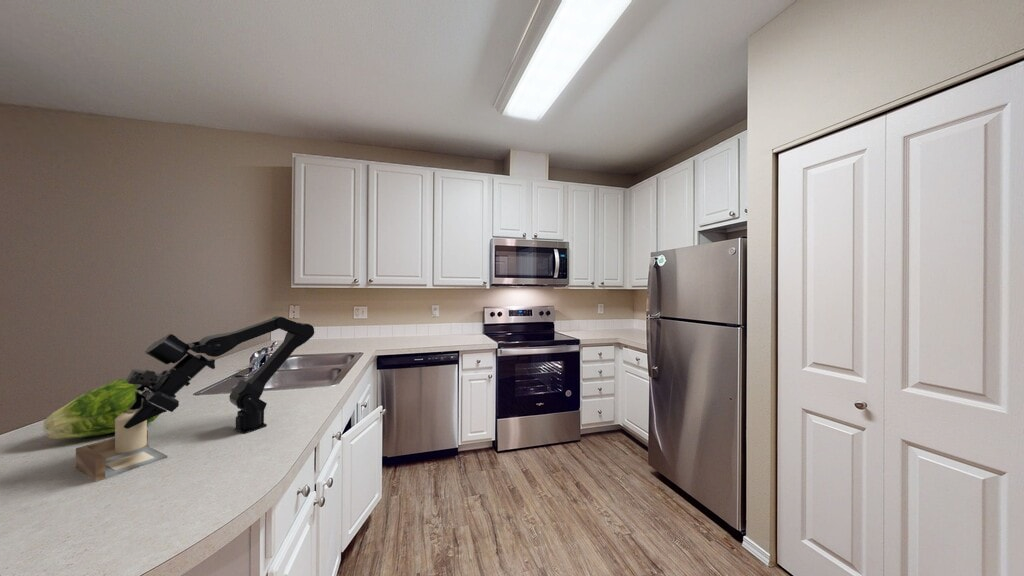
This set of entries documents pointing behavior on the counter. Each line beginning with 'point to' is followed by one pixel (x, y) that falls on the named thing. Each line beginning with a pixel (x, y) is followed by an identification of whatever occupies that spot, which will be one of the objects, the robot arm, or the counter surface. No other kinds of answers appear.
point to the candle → (129, 433)
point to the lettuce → (92, 412)
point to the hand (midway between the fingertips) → (123, 425)
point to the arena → (112, 459)
